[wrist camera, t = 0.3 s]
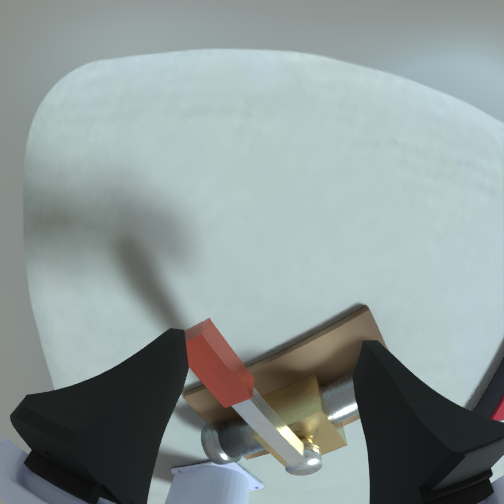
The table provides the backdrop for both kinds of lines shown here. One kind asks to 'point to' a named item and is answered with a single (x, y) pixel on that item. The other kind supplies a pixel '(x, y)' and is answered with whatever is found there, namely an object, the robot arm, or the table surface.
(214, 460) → the valve
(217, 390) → the lever
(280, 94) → the table surface
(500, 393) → the calculator
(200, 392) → the board
